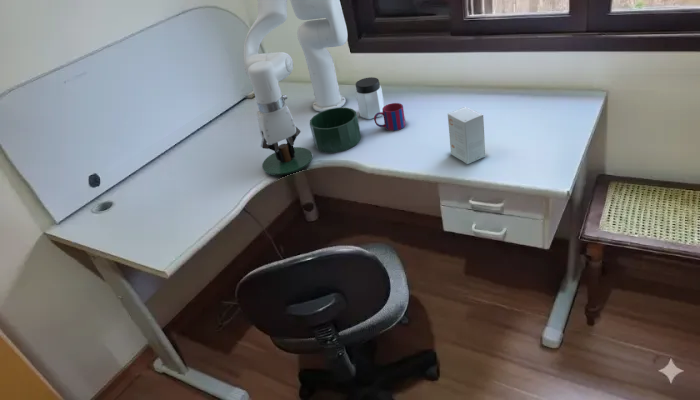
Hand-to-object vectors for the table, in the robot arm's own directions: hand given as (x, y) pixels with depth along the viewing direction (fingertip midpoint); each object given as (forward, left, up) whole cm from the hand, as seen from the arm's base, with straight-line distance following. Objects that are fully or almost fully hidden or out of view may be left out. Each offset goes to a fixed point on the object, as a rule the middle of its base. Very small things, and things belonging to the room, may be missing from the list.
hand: (286, 158), depth 162 cm
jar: (-9, +38, -3) cm, 39 cm away
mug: (+5, +36, -3) cm, 36 cm away
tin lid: (0, 0, -1) cm, 1 cm away
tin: (-1, +19, -3) cm, 19 cm away
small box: (+38, +40, -3) cm, 55 cm away
